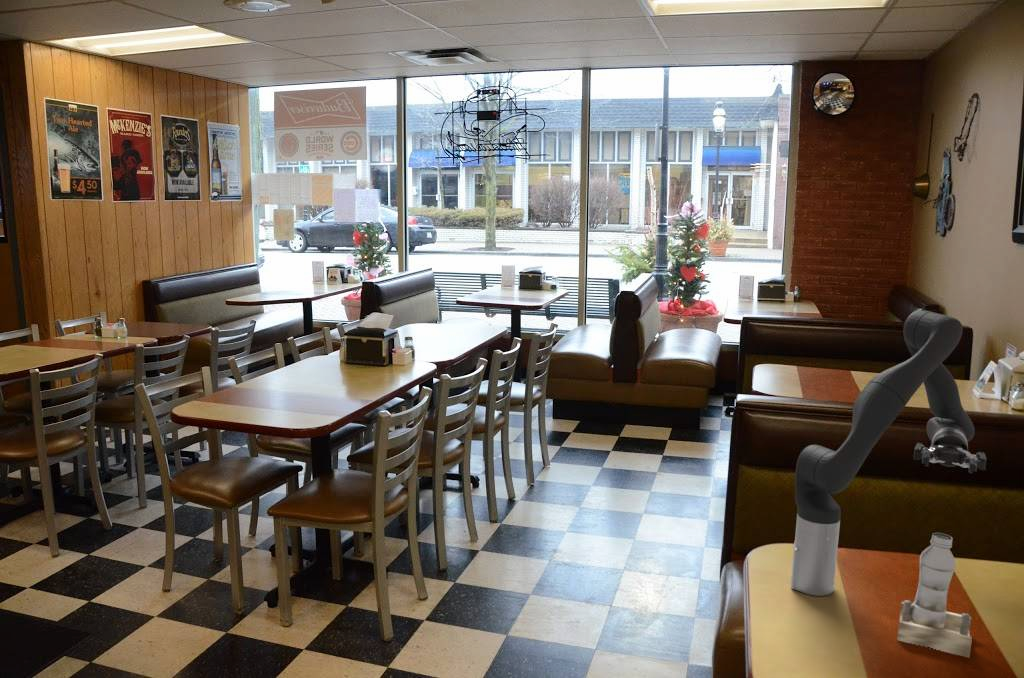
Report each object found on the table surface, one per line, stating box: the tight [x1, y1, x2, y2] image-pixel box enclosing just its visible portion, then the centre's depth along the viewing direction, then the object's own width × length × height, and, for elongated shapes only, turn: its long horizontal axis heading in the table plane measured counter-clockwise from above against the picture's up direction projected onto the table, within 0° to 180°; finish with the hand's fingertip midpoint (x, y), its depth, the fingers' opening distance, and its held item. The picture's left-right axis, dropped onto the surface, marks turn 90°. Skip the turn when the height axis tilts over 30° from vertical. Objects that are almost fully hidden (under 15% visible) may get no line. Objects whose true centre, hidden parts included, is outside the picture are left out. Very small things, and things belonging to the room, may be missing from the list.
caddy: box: [896, 599, 973, 659], centre depth 169 cm, size 13×10×6 cm
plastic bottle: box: [910, 532, 956, 630], centre depth 169 cm, size 6×7×20 cm
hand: (949, 465), depth 179 cm, fingers open, 8 cm apart
